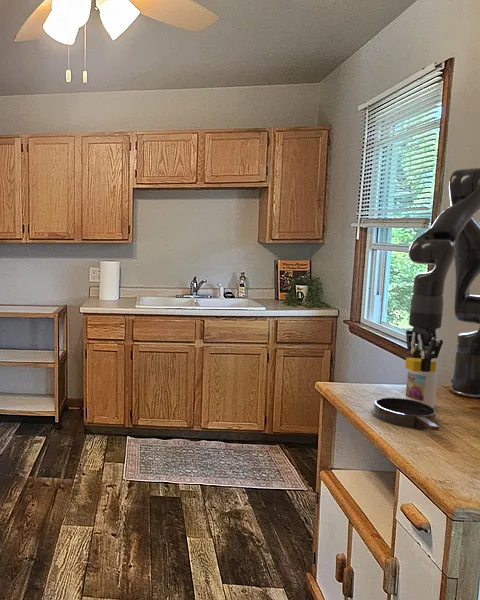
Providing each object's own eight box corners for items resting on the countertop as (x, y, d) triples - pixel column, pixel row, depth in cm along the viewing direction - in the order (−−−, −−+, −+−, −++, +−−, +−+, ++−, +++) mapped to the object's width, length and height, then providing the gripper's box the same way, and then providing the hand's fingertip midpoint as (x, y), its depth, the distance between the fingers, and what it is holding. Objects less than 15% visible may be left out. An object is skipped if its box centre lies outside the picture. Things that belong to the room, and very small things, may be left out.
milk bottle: (425, 401, 159) (431, 341, 156) (440, 410, 152) (446, 346, 149) (399, 401, 160) (405, 340, 157) (413, 409, 152) (419, 346, 149)
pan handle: (414, 427, 139) (416, 416, 138) (422, 428, 139) (423, 416, 138) (430, 438, 132) (431, 426, 132) (438, 438, 132) (439, 426, 131)
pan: (415, 408, 153) (416, 398, 153) (447, 428, 138) (448, 416, 138) (364, 407, 154) (365, 396, 154) (390, 427, 139) (391, 415, 139)
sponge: (426, 368, 144) (427, 358, 144) (435, 372, 140) (436, 361, 140) (405, 367, 145) (406, 357, 144) (413, 371, 141) (414, 361, 140)
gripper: (457, 314, 133) (450, 376, 135) (425, 306, 147) (419, 362, 149) (427, 314, 133) (421, 376, 136) (398, 306, 147) (393, 362, 150)
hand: (420, 368), depth 142 cm, fingers closed on sponge, 4 cm apart
